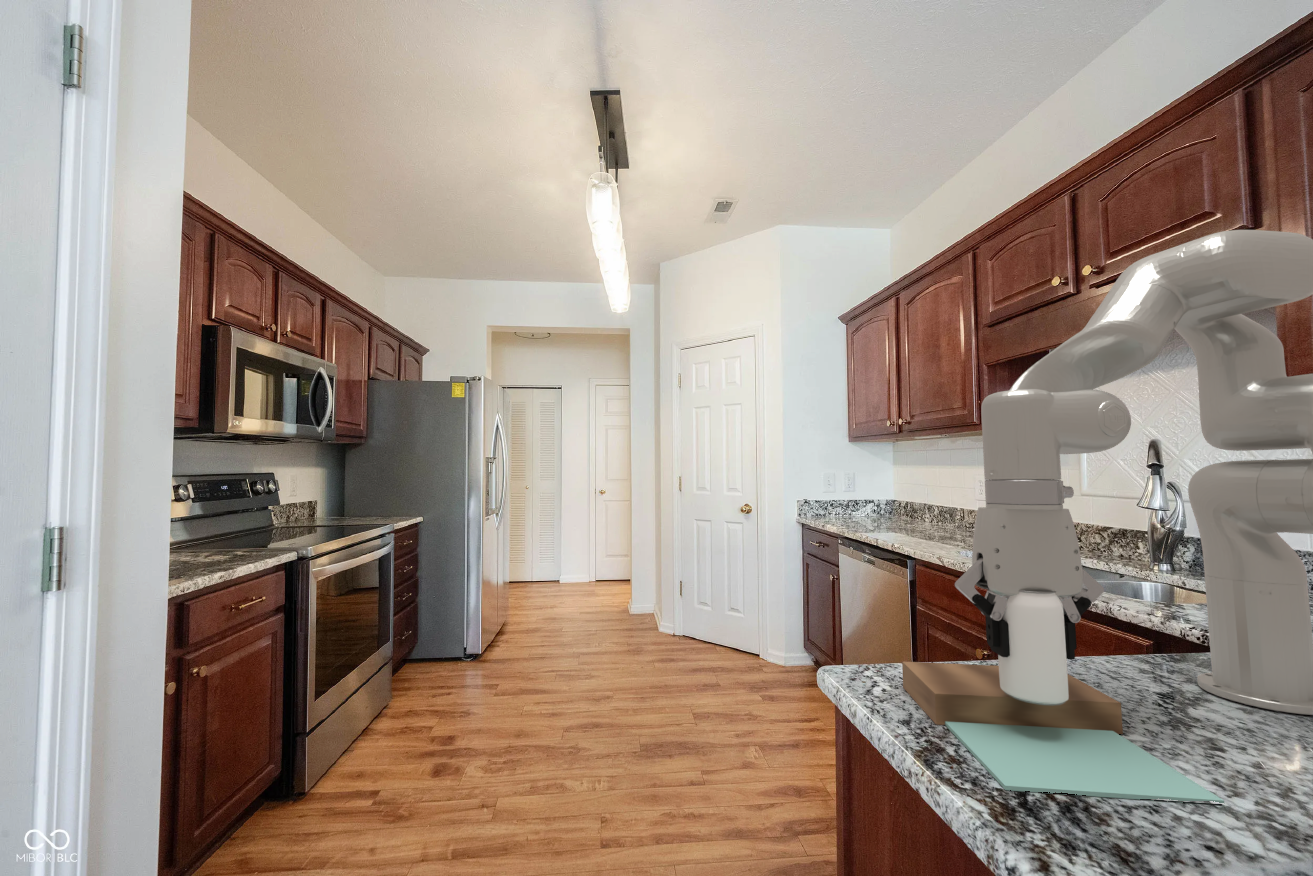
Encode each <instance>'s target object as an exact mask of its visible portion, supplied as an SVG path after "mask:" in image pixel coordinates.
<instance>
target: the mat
mask: <svg viewBox="0 0 1313 876" xmlns="http://www.w3.org/2000/svg"><path fill="white" fill-rule="evenodd" d="M944 726H945V727H947V729H948V730H949V731H950V732H951V734H953V736H955V738H956V739H957V740H958V741H959V742H960V743H961V744H962V745H963V746H964V747H965V748H966V749H967V750H968V751H969V753H970V754H971V755H972V756H973V757H974V758H975V759H976V760H977V761H978V762H979V763H980V764H981V765H982V766H983V768H984V769H985V770H986V771H987V772H988V773H989V774H990V776H991V777H993V778H994V780H995V781H997V783H998V784H999V785H1000V786H1001V787H1002V788H1003V789H1004V791H1008V792H1009V791H1010V790H1011V791H1010V792H1012V791H1013V792H1025V791H1030V792H1029V793H1038V792H1042V793H1041V794H1044V793H1043V792H1048V793H1047V794H1053V793H1055V792H1056V793H1061V792H1062V793H1068V794H1075V795H1074V796H1082V795H1086V796H1085V797H1097V798H1113V799H1126V800H1138V801H1139V800H1140V799H1158V798H1159V799H1169V800H1170V799H1171V800H1178V801H1179V800H1180V801H1213V802H1214V801H1215V802H1219V803H1224V804H1225V800H1224V799H1223V798H1221V797H1219V796H1218V795H1216V794H1215V793H1213V792H1212V791H1209V790H1208V789H1207V788H1205V787H1203V786H1202V785H1201V784H1198V782H1195V781H1194V780H1192V779H1190V778H1189V777H1187V776H1186V775H1184V774H1183V773H1182V772H1179V771H1178V770H1176V769H1174V768H1173V767H1171V766H1170V765H1168V764H1166V763H1165V762H1163V761H1162V760H1160V759H1159V758H1157V757H1155V756H1154V755H1153V754H1151V753H1150V752H1148V751H1146V750H1144V749H1143V748H1141V747H1140V746H1138V745H1137V744H1135V743H1133V742H1132V741H1131V740H1128V739H1127V738H1125V737H1124V736H1123V735H1119V734H1117V733H1116V732H1114V731H1107V730H1089V729H1071V728H1054V727H1036V726H1018V725H1000V724H982V723H964V722H946V721H945V725H944ZM1049 792H1050V793H1049ZM1076 794H1077V795H1076ZM1140 801H1141V800H1140ZM1225 805H1226V804H1225Z"/></svg>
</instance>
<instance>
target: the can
mask: <svg viewBox="0 0 1313 876" xmlns="http://www.w3.org/2000/svg"><path fill="white" fill-rule="evenodd" d="M1018 592H1019V594H1017V595H1014V596H1010V597H1009V599H1008V601H1007V606H1006V609H1005V612H1004V614H1003V620H1005V621H1007V623H1008V627H1009V647H1010V656H1008V657H1002V656H1000V655H998V654H997V658H998V666H999V679H1000V687H1001V689H1002V690H1003V691H1004V693H1005V694H1007V695H1008V696H1010V697H1012V698H1015V699H1017V700H1020V701H1024V702H1028V703H1033V704H1039V705H1050V706H1054V705H1061V704H1064V703H1065V702H1066V701H1067V700H1068V698H1069V695H1068V675H1067V674H1068V661H1067V660H1068V659H1067V658H1066V642H1065V626H1064V612H1063V604H1062V602H1061V601H1060V599H1059V597H1058V596H1056V594H1055V593H1056V591H1053V592H1032V591H1021V590H1019V591H1018Z"/></svg>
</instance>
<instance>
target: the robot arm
mask: <svg viewBox="0 0 1313 876" xmlns="http://www.w3.org/2000/svg"><path fill="white" fill-rule="evenodd" d="M1312 295H1313V238H1311V237H1309V236H1307V235H1306V234H1305V235H1304V234H1301V233H1298V232H1290V231H1276V230H1262V229H1261V230H1260V229H1233V230H1225V231H1224V230H1223V231H1220V232H1219V231H1218V232H1215V233H1211V234H1207V235H1205V236H1202V237H1199V238H1196V239H1194V240H1190V241H1188V242H1185V243H1182V244H1179V245H1176V246H1174V247H1170V248H1168V249H1165V250H1162V251H1159V252H1156V253H1153V254H1149V255H1147V256H1145V257H1143V258H1141V259H1138V260H1136V261H1135V262H1133V263H1132V264H1131V265H1129V266H1128V267H1126V269H1124V271H1122V272H1121V274H1120V275H1119V276H1118V278H1117V279H1116V281H1115V282H1114V283H1113V285H1112V286H1111V288H1110V289H1109V291H1108V292H1107V294H1106V295H1105V297H1104V298H1103V299H1102V301H1101V303H1100V304H1099V306H1098V307H1097V309H1096V310H1095V312H1094V313H1093V314H1092V316H1091V317H1090V319H1089V320H1088V322H1087V323H1086V325H1085V326H1084V328H1083V329H1081V330H1080V331H1078V332H1077V333H1075V334H1074V335H1073V336H1071V337H1070V338H1068V339H1067V340H1066V341H1064V342H1063V343H1061V344H1060V345H1058V346H1057V347H1056V348H1055V349H1053V350H1052V351H1051V352H1049V353H1048V354H1046V355H1045V356H1043V357H1042V358H1041V359H1039V360H1038V361H1036V362H1035V363H1034V364H1032V365H1031V366H1030V367H1028V368H1027V370H1025V371H1024V372H1023V373H1022V374H1020V376H1019V377H1018V378H1017V379H1016V380H1015V381H1014V383H1013V384H1012V386H1011V387H1010V389H1009V390H1004V391H997V392H994V393H992V394H989V395H987V396H986V397H985V398H984V399H983V400H982V403H981V406H980V407H981V408H980V409H981V411H980V412H981V413H980V414H981V430H982V432H981V434H982V435H981V436H982V453H983V471H984V473H983V474H984V475H983V476H984V495H985V497H984V499H985V507H982V506H981V507H980V506H979V507H978V508H977V512H976V516H975V522H974V530H973V536H972V537H973V539H972V553H971V554H972V555H971V557H972V559H971V560H972V561H971V566H970V567H969V568H968V569H967V570H966V571H965V572H964V573H963V574H962V575H961V576H960V577H959V578H958V579H957V580H955V582H954V587H955V588H956V589H957V590H958V591H959V592H960V593H961V594H962V595H963V596H964V597H965V598H967V599H968V601H969V602H970V603H972V604H973V606H975V608H977V609H978V610H979V611H980V612H981V614H982V615H983V616H984V617H985V634H986V636H985V637H986V638H985V639H986V642H987V645H988V646H989V648H990V650H991V651H992V652H994V653H995V654H997V656H998V655H1000V656H1002V657H1008V656H1010V647H1009V627H1008V623H1007V621H1005V620H1003V614H1004V612H1005V609H1006V606H1007V601H1008V599H1009V597H1010V596H1014V595H1017V594H1019V592H1018V591H1019V590H1021V591H1032V592H1053V591H1056V593H1055V594H1056V596H1058V597H1059V599H1060V601H1061V602H1062V604H1063V612H1064V626H1065V642H1066V658H1067V660H1069V661H1070V660H1073V661H1074V660H1075V658H1076V653H1075V652H1076V649H1077V644H1078V643H1077V633H1076V632H1077V629H1076V628H1077V627H1076V624H1077V623H1079V622H1080V621H1081V618H1082V617H1081V616H1082V615H1083V614H1084V613H1085V612H1086V611H1087V610H1089V608H1090V607H1092V603H1094V602H1095V601H1096V600H1097V599H1098V598H1099V597H1101V596H1102V595H1103V594H1104V592H1105V588H1104V587H1103V585H1101V583H1099V582H1098V581H1097V580H1096V579H1095V578H1094V577H1093V576H1092V575H1091V574H1089V573H1088V572H1087V571H1086V569H1084V568H1083V564H1082V556H1081V550H1080V545H1079V539H1078V536H1077V531H1076V528H1075V524H1074V521H1073V518H1072V515H1071V511H1070V509H1069V508H1064V504H1065V499H1069V498H1071V499H1072V498H1073V497H1074V494H1075V493H1074V489H1073V487H1072V486H1071V485H1069V486H1066V485H1064V481H1063V480H1062V468H1061V455H1077V454H1078V455H1079V454H1080V455H1081V454H1082V455H1083V454H1093V453H1100V452H1105V451H1107V450H1110V449H1112V448H1115V447H1116V446H1118V445H1119V444H1121V443H1122V442H1123V441H1124V440H1125V438H1127V436H1128V434H1129V433H1130V431H1131V425H1132V417H1131V413H1130V410H1129V408H1128V407H1127V405H1126V404H1125V402H1124V401H1123V400H1122V399H1120V398H1119V396H1116V395H1114V394H1112V393H1110V392H1107V391H1105V390H1100V389H1097V388H1100V387H1103V386H1105V385H1107V384H1108V385H1109V384H1111V383H1113V382H1115V381H1117V380H1121V379H1122V378H1125V377H1127V376H1129V375H1131V374H1133V373H1134V372H1135V373H1136V372H1137V371H1139V370H1141V369H1143V368H1145V367H1146V366H1149V364H1151V363H1152V362H1153V361H1155V359H1157V357H1158V356H1159V355H1160V353H1161V351H1162V350H1163V348H1164V346H1165V345H1166V343H1167V341H1168V339H1169V338H1170V336H1171V335H1172V333H1173V332H1174V330H1175V332H1177V333H1178V334H1179V336H1181V337H1182V338H1183V340H1184V341H1185V342H1186V343H1187V344H1188V346H1189V347H1190V349H1191V350H1192V352H1193V354H1194V357H1195V361H1196V368H1197V379H1198V381H1197V383H1198V384H1197V385H1198V403H1199V419H1200V420H1199V421H1200V427H1201V428H1200V429H1201V433H1202V435H1203V438H1204V440H1205V441H1206V443H1208V444H1209V445H1210V446H1212V448H1213V447H1214V448H1216V449H1220V450H1224V451H1235V452H1236V451H1237V452H1239V451H1240V452H1243V451H1247V452H1248V451H1249V452H1250V451H1273V450H1278V451H1279V450H1299V449H1310V451H1311V454H1312V455H1313V373H1307V374H1300V375H1293V376H1287V371H1286V362H1285V361H1286V360H1285V352H1284V350H1285V348H1284V345H1283V342H1282V341H1281V340H1280V338H1279V337H1278V336H1277V335H1276V334H1275V333H1273V332H1272V331H1271V330H1270V329H1268V328H1267V327H1265V326H1264V325H1262V324H1261V323H1258V322H1257V321H1255V320H1253V319H1251V318H1249V317H1248V316H1246V315H1244V314H1247V313H1250V312H1255V311H1260V310H1264V309H1268V308H1272V307H1278V306H1282V305H1286V304H1291V303H1294V302H1299V301H1301V300H1304V299H1307V298H1309V297H1311V296H1312ZM1187 491H1188V492H1187V493H1188V499H1189V504H1190V507H1191V509H1192V512H1193V516H1194V518H1195V521H1196V525H1197V529H1198V532H1199V537H1200V542H1201V543H1200V545H1201V549H1202V557H1203V569H1204V571H1203V572H1204V583H1205V584H1204V586H1205V587H1204V588H1205V597H1206V610H1207V613H1206V614H1207V620H1208V621H1207V623H1208V626H1207V627H1208V637H1209V648H1210V649H1209V650H1210V651H1209V652H1210V662H1211V672H1205V673H1201V674H1198V675H1197V679H1196V680H1197V685H1198V686H1199V687H1200V688H1201V689H1202V690H1204V691H1205V692H1208V693H1210V694H1211V695H1212V694H1213V695H1215V696H1218V697H1220V698H1224V699H1226V700H1229V701H1232V702H1237V703H1239V704H1244V705H1247V706H1253V707H1255V708H1260V709H1265V710H1271V711H1276V712H1283V713H1288V714H1297V715H1310V716H1313V632H1312V631H1313V629H1312V622H1311V621H1312V620H1311V619H1312V617H1311V608H1310V598H1309V597H1310V596H1309V586H1308V576H1307V569H1306V567H1305V564H1304V562H1303V560H1302V558H1301V557H1300V556H1299V554H1298V553H1297V552H1296V551H1295V550H1294V549H1293V548H1292V547H1291V546H1290V545H1289V544H1288V543H1287V541H1285V540H1284V538H1282V537H1281V536H1280V535H1279V534H1278V533H1281V534H1283V533H1288V534H1290V533H1291V534H1307V535H1313V458H1295V459H1288V458H1287V459H1278V458H1277V459H1275V458H1274V459H1255V460H1254V459H1250V460H1249V459H1248V460H1246V459H1245V460H1231V461H1222V462H1216V463H1212V464H1209V465H1206V466H1204V467H1202V468H1200V469H1198V470H1197V471H1196V472H1195V473H1194V474H1193V475H1192V476H1191V478H1190V480H1189V482H1188V488H1187ZM975 586H976V587H978V588H980V589H983V590H986V593H985V595H984V596H983V595H982V594H981V593H980V592H979V591H978V590H977V589H976V588H975Z"/></svg>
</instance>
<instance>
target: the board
mask: <svg viewBox="0 0 1313 876" xmlns="http://www.w3.org/2000/svg"><path fill="white" fill-rule="evenodd" d="M901 665H902V666H901V667H902V688H903V690H905V691H906V693H907V694H908V695H909V696H910V698H912V699H913V701H915V703H916V704H917V705H918V706H919V708H921V709H922V711H923V712H924V713H925V714H926V715H927V716H928V717H929V718H930V719H931V720H932V721H933V723H934V724H935V725H937V726H939V725H941V726H945V721H946V722H964V723H982V724H1000V725H1018V726H1036V727H1054V728H1071V729H1089V730H1107V731H1114V732H1116V733H1117V734H1123V735H1124V731H1123V730H1124V729H1123V728H1124V727H1123V715H1122V702H1120V701H1119V700H1116V699H1115V698H1113V697H1111V696H1109V695H1108V694H1106V693H1104V692H1102V691H1100V690H1098V689H1096V688H1094V687H1093V686H1091V685H1089V684H1087V683H1085V682H1083V681H1082V680H1080V679H1079V678H1076V677H1074V676H1072V675H1070V674H1068V673H1067V675H1068V695H1069V698H1068V700H1067V701H1066V702H1065V703H1064V704H1061V705H1054V706H1050V705H1039V704H1033V703H1028V702H1024V701H1020V700H1017V699H1015V698H1012V697H1010V696H1008V695H1007V694H1005V693H1004V691H1003V690H1002V689H1001V687H1000V679H999V665H992V664H991V665H990V664H989V665H987V664H971V663H970V664H969V663H967V664H966V663H945V662H926V661H925V662H921V661H902V662H901Z"/></svg>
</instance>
